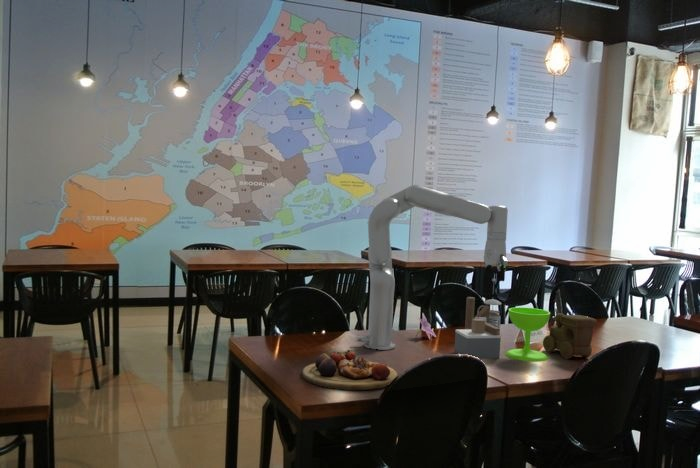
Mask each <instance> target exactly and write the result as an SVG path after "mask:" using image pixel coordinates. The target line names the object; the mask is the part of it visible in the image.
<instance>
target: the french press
mask: <svg viewBox="0 0 700 468" xmlns="http://www.w3.org/2000/svg"><path fill="white" fill-rule="evenodd" d="M491 281H492V282H497V278H492V279H491ZM492 285H493V286H492V293H494V288H495V284H492ZM485 305H488V306H491V309H490V311H489V324H491V325H493V326H495V327H497V328H499V329H500V333H501V332H502V331H501V316H502V315H501V314H500V313H501V311H499V310H494V309H493V307H494V306H500V305H502V302H501V301H499V300H497V299H494V298H492V299H486V300H484V301H483V305H479V307H478V308H477V311H476V312H477V313H476V315H477V314H478V313H479V312H480V311H481V310H480V309H482V308H483V307H484V306H485Z"/></svg>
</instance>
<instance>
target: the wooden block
mask: <svg viewBox="0 0 700 468" xmlns="http://www.w3.org/2000/svg"><path fill="white" fill-rule="evenodd" d="M475 302H476V297H473V296H467V297H466V302H465V303H466V305H465V321H464V323H465V325H464V329H472V319H475V317H486V323H489V322H490V321H489V320H490V318H489V311H490V310H491V308H490V305H487V304H484V306H483V307H481V308H480V309H481V310H479V313H478V314H477V313H476V315H475V304H476V303H475Z"/></svg>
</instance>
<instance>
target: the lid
mask: <svg viewBox="0 0 700 468" xmlns="http://www.w3.org/2000/svg"><path fill="white" fill-rule="evenodd" d="M484 329H485V320H483V319H472V329H465V328H463V329H461V328H460V329H455V332H456V333H458V334H460V335H462V336H464V337H465V338H501V336H502V334H500V335H493V334H491V333H489V332H487V331H485V330H484Z"/></svg>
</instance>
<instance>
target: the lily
mask: <svg viewBox="0 0 700 468" xmlns="http://www.w3.org/2000/svg"><path fill="white" fill-rule="evenodd" d="M416 318H417V320H418V321H419V322H420V325H421V329H420V330H418V332H417V333H416V335H415V337H417V336H418V334H419V333H420V331H422V332H423V331H424V332H425V333H426V335H427V337H428V339H429V340H431V335H432V336H433V337H434V338H437V335H436V333H435V332H434V330H433V329H432V328H431V326H432V325H431V323H429V322H428V320H427V317H426V316H425V314H424V312H422V318H420V317H418V316H417V317H416Z"/></svg>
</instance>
